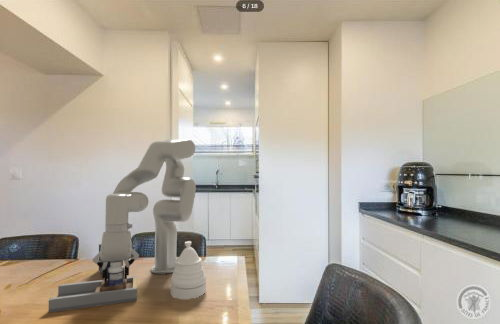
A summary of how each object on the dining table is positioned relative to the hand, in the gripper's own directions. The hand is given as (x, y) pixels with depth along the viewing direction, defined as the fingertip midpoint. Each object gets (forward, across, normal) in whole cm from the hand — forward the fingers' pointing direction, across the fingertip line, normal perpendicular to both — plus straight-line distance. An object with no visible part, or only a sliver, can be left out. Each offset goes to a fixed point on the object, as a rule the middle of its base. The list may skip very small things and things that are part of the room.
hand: (115, 278), depth 106 cm
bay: (+6, +6, 0) cm, 9 cm away
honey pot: (+7, -25, +5) cm, 26 cm away
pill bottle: (+4, 0, 0) cm, 4 cm away
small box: (+7, +4, -26) cm, 27 cm away
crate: (+5, +1, 0) cm, 5 cm away
